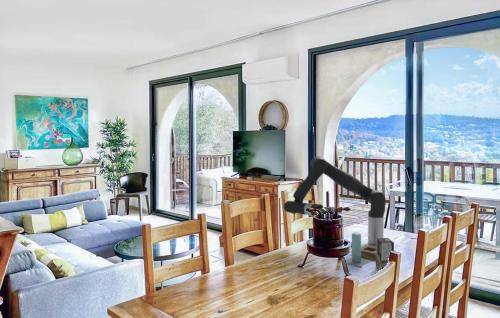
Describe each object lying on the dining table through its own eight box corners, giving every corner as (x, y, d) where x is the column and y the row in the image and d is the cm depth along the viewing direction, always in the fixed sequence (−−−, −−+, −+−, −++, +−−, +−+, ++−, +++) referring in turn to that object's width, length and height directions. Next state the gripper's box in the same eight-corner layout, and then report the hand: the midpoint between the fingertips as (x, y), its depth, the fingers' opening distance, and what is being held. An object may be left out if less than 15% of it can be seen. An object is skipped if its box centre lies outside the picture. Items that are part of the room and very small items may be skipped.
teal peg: (354, 259, 216) (354, 232, 215) (362, 261, 213) (362, 233, 212) (350, 261, 212) (350, 234, 211) (358, 263, 209) (358, 235, 208)
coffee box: (394, 275, 194) (394, 242, 193) (380, 275, 194) (381, 242, 193) (387, 268, 203) (388, 237, 202) (375, 268, 203) (375, 237, 202)
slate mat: (352, 258, 220) (352, 257, 220) (371, 262, 213) (371, 261, 212) (342, 262, 212) (342, 261, 212) (361, 267, 205) (361, 266, 205)
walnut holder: (364, 250, 234) (364, 243, 234) (390, 256, 223) (390, 249, 223) (350, 256, 223) (350, 249, 223) (376, 263, 212) (377, 255, 212)
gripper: (320, 213, 241) (344, 216, 229) (306, 218, 230) (331, 221, 219) (320, 201, 240) (343, 203, 229) (306, 205, 230) (330, 207, 219)
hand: (337, 212), depth 224 cm, fingers open, 8 cm apart
